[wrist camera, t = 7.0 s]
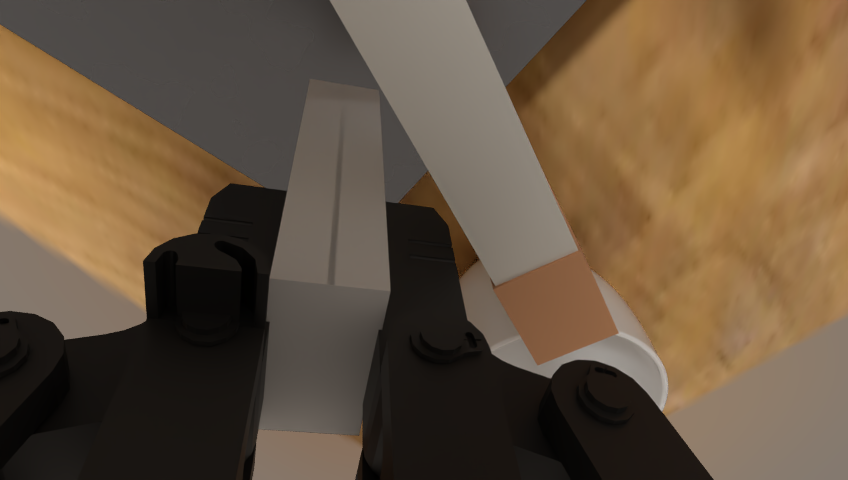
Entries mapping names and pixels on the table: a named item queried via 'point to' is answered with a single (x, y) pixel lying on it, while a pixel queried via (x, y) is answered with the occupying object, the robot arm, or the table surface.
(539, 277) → the white lever
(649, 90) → the table surface
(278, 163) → the base plate
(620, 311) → the cup
